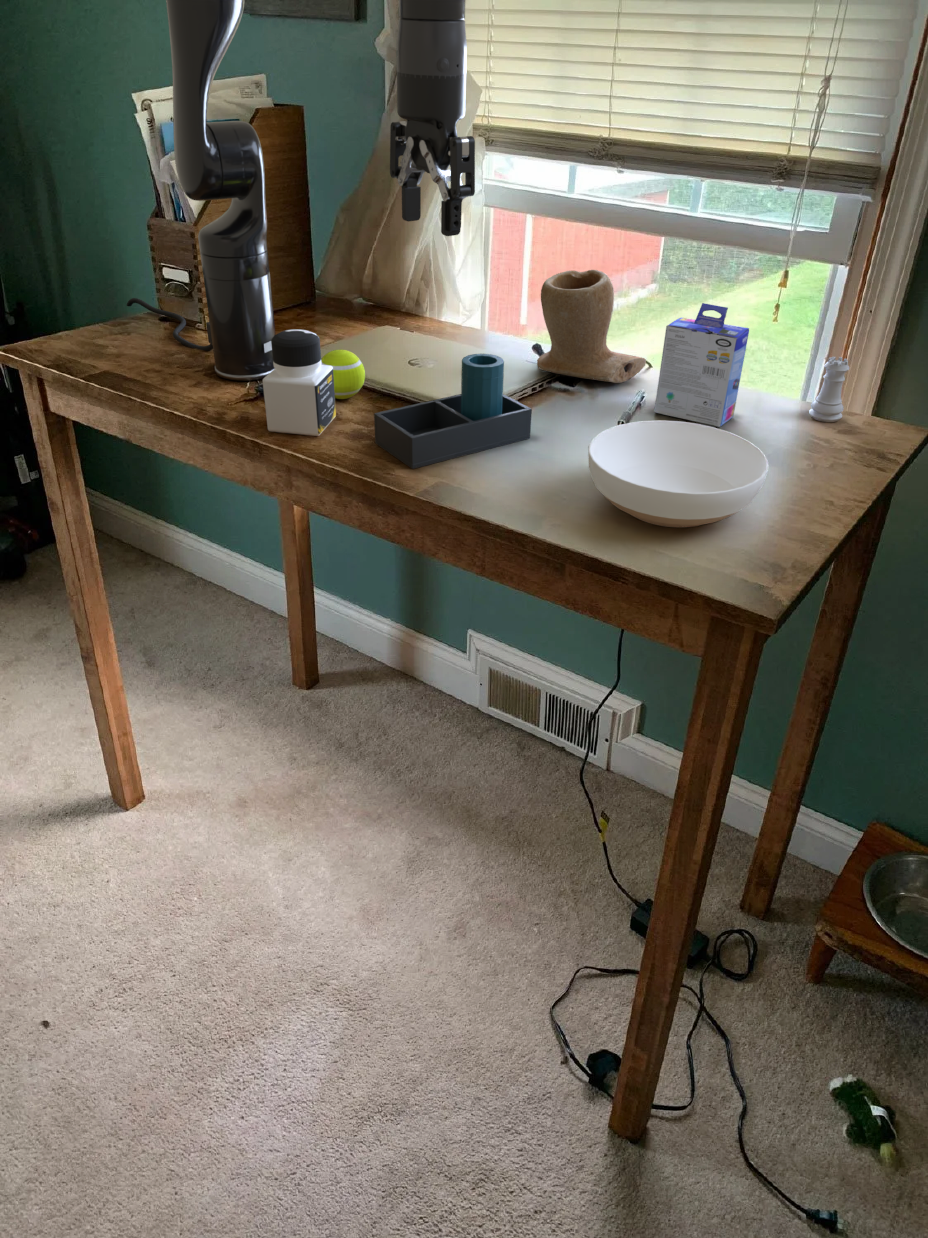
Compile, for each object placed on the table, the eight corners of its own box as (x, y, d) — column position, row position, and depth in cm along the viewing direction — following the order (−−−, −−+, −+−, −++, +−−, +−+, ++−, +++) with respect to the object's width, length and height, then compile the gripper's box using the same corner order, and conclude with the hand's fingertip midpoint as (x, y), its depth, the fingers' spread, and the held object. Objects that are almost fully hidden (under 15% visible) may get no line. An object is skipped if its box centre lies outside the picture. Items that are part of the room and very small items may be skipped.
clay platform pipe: (520, 377, 141) (525, 273, 132) (556, 356, 149) (563, 257, 141) (613, 398, 134) (625, 290, 126) (646, 374, 143) (659, 272, 134)
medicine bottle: (319, 437, 121) (312, 344, 114) (267, 432, 122) (257, 339, 116) (336, 416, 127) (331, 327, 120) (286, 412, 128) (278, 323, 121)
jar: (453, 425, 123) (454, 357, 118) (486, 417, 125) (488, 350, 120) (475, 439, 119) (477, 369, 114) (509, 430, 122) (512, 362, 117)
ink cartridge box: (735, 416, 129) (755, 309, 121) (722, 429, 125) (741, 319, 117) (667, 401, 134) (682, 297, 126) (652, 413, 130) (667, 306, 122)
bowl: (630, 454, 118) (636, 407, 115) (782, 496, 109) (794, 446, 106) (551, 512, 105) (555, 461, 101) (718, 565, 96) (728, 511, 92)
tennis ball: (362, 406, 130) (360, 359, 126) (314, 405, 130) (310, 357, 127) (369, 389, 136) (367, 343, 132) (322, 388, 136) (319, 342, 132)
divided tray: (374, 443, 120) (373, 413, 118) (489, 415, 128) (490, 386, 126) (412, 469, 114) (411, 438, 111) (530, 438, 122) (532, 408, 120)
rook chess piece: (802, 416, 130) (815, 359, 125) (816, 408, 132) (830, 351, 128) (833, 425, 127) (847, 367, 123) (847, 416, 130) (861, 359, 125)
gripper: (498, 74, 99) (491, 236, 108) (425, 61, 108) (424, 212, 118) (438, 76, 95) (436, 244, 104) (368, 63, 105) (372, 218, 114)
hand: (430, 227), depth 111 cm, fingers open, 8 cm apart
